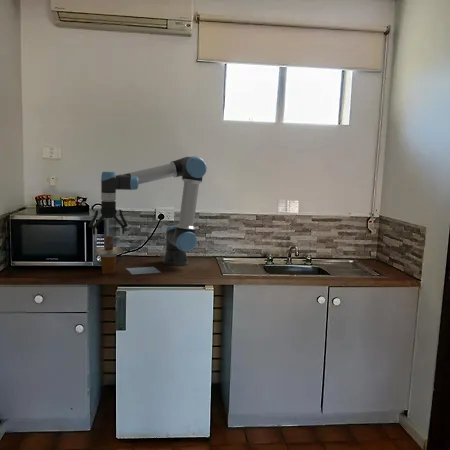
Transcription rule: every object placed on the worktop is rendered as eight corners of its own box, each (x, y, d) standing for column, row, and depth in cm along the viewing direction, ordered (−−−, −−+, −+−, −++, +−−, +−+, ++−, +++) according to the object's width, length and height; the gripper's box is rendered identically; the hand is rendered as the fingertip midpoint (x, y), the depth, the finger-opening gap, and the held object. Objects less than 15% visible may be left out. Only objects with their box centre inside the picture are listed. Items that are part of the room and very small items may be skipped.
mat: (153, 267, 272) (153, 266, 272) (161, 273, 258) (161, 272, 258) (125, 269, 265) (125, 268, 265) (132, 275, 252) (132, 274, 252)
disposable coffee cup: (112, 276, 249) (112, 253, 248) (96, 274, 251) (96, 252, 250) (120, 272, 258) (120, 250, 257) (104, 270, 260) (104, 249, 259)
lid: (118, 248, 262) (118, 234, 261) (123, 253, 250) (123, 238, 249) (94, 250, 256) (94, 235, 255) (98, 254, 245) (98, 239, 244)
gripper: (85, 201, 241) (85, 242, 244) (133, 201, 252) (133, 240, 254) (83, 200, 248) (83, 239, 251) (130, 200, 258) (129, 238, 261)
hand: (108, 240), depth 252 cm, fingers open, 13 cm apart
